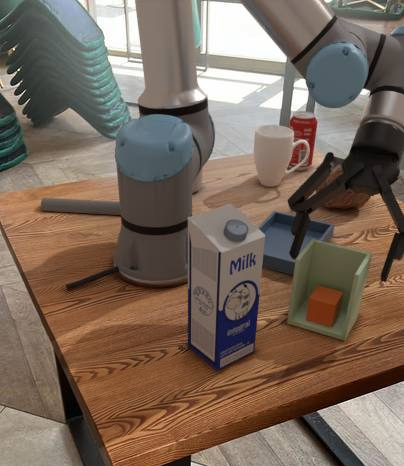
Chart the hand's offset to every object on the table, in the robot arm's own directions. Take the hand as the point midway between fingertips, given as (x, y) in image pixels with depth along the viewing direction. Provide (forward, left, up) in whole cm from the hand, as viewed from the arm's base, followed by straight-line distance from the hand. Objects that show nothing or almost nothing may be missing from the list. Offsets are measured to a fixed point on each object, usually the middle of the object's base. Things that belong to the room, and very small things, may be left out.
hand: (336, 267), depth 84 cm
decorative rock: (+18, +37, -8) cm, 43 cm away
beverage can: (+16, +59, -8) cm, 62 cm away
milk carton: (-19, -6, -8) cm, 21 cm away
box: (-2, -2, -8) cm, 8 cm away
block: (-2, -2, -7) cm, 8 cm away
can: (-13, +51, -8) cm, 54 cm away
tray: (0, +21, -8) cm, 23 cm away
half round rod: (-34, +44, -8) cm, 56 cm away
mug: (+8, +50, -8) cm, 52 cm away
